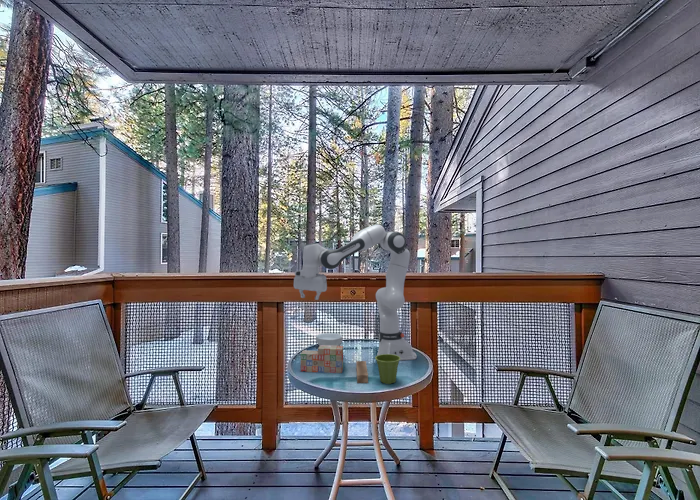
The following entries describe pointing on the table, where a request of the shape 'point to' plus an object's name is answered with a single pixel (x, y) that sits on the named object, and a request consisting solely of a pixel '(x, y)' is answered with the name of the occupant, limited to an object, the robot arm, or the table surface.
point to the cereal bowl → (329, 339)
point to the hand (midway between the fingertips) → (309, 298)
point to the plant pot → (387, 367)
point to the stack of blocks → (323, 359)
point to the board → (361, 372)
